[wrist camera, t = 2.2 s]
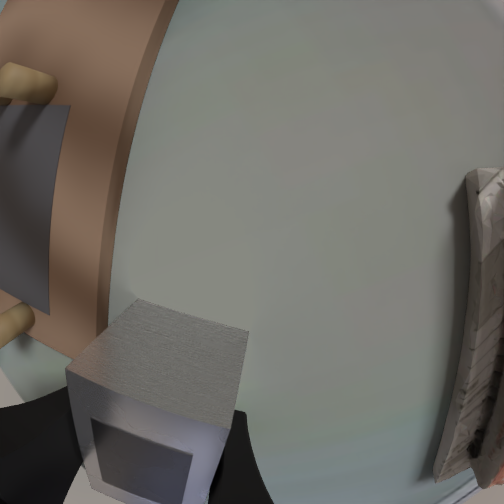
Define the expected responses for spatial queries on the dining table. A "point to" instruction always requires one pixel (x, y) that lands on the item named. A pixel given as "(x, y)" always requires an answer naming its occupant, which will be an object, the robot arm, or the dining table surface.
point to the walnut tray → (67, 156)
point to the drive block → (156, 403)
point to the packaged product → (480, 345)
